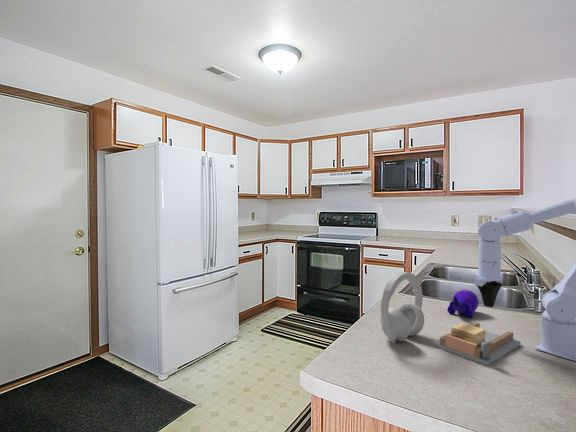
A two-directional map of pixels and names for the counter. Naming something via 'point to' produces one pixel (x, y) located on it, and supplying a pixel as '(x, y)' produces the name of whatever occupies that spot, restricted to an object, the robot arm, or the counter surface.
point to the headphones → (401, 310)
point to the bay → (486, 352)
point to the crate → (469, 333)
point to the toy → (464, 303)
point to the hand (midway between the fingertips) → (488, 306)
